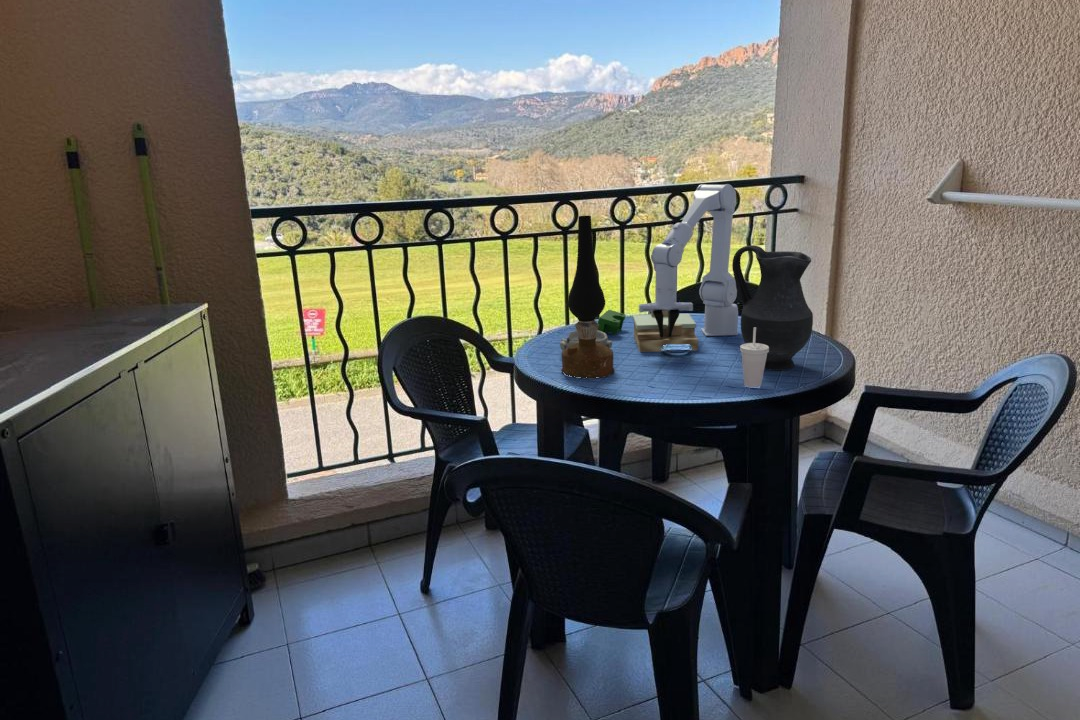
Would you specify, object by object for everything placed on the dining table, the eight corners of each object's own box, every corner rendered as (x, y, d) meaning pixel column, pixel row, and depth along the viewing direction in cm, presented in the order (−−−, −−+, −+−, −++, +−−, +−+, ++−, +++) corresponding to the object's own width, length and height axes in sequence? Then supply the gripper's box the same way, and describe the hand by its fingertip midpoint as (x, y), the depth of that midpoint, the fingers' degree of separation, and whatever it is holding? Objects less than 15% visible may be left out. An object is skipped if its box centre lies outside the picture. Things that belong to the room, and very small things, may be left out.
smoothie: (761, 381, 161) (764, 324, 157) (771, 390, 155) (774, 331, 151) (734, 382, 161) (737, 325, 157) (743, 391, 155) (746, 332, 150)
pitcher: (790, 380, 161) (800, 254, 152) (713, 364, 175) (717, 248, 166) (820, 362, 172) (830, 244, 164) (745, 349, 186) (751, 240, 178)
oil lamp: (618, 378, 178) (643, 225, 171) (603, 386, 164) (629, 220, 157) (569, 367, 183) (592, 218, 176) (550, 375, 169) (573, 213, 162)
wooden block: (658, 336, 190) (658, 332, 190) (659, 339, 188) (659, 334, 187) (637, 337, 190) (637, 332, 190) (638, 339, 188) (638, 334, 187)
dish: (560, 359, 185) (559, 342, 183) (560, 346, 198) (559, 329, 197) (613, 358, 184) (613, 340, 183) (609, 344, 197) (609, 328, 196)
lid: (688, 322, 203) (688, 307, 202) (696, 334, 190) (697, 318, 188) (632, 324, 204) (632, 309, 203) (637, 336, 190) (637, 320, 189)
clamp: (612, 348, 208) (616, 326, 202) (594, 343, 210) (597, 320, 204) (624, 326, 216) (628, 303, 210) (607, 320, 218) (610, 298, 212)
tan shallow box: (687, 334, 204) (687, 318, 202) (697, 350, 188) (698, 332, 186) (633, 336, 205) (634, 320, 203) (639, 351, 188) (639, 334, 187)
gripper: (640, 291, 181) (640, 340, 185) (695, 290, 180) (694, 339, 184) (638, 287, 188) (638, 334, 192) (690, 285, 187) (689, 332, 191)
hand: (665, 336), depth 188 cm, fingers closed
